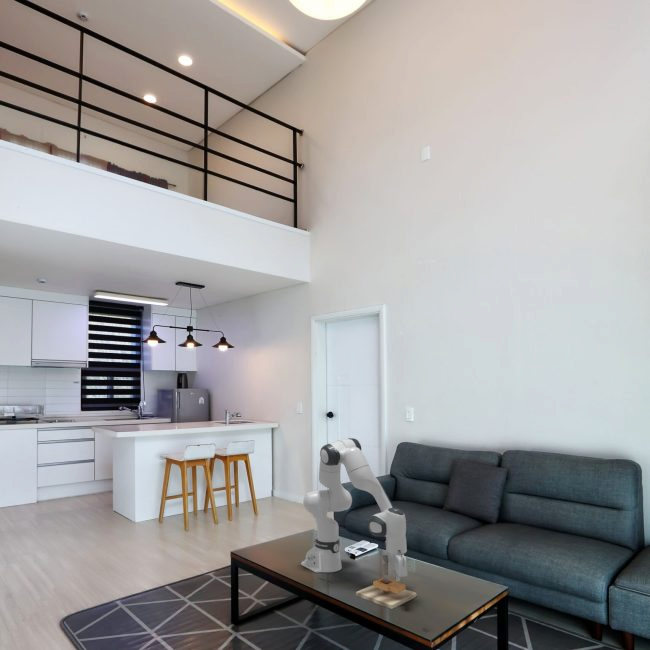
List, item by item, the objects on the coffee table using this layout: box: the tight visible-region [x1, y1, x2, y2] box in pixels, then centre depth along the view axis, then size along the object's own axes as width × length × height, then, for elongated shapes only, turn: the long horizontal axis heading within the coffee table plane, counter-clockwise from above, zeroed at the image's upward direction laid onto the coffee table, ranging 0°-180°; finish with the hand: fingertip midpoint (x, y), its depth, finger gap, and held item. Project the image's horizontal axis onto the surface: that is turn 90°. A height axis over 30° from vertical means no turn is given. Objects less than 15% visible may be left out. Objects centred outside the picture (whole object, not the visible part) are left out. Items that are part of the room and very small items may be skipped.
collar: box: [372, 577, 407, 594], centre depth 222 cm, size 12×8×2 cm, turn 45°
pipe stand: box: [355, 554, 417, 610], centre depth 224 cm, size 20×18×17 cm
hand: (397, 579), depth 220 cm, fingers closed
